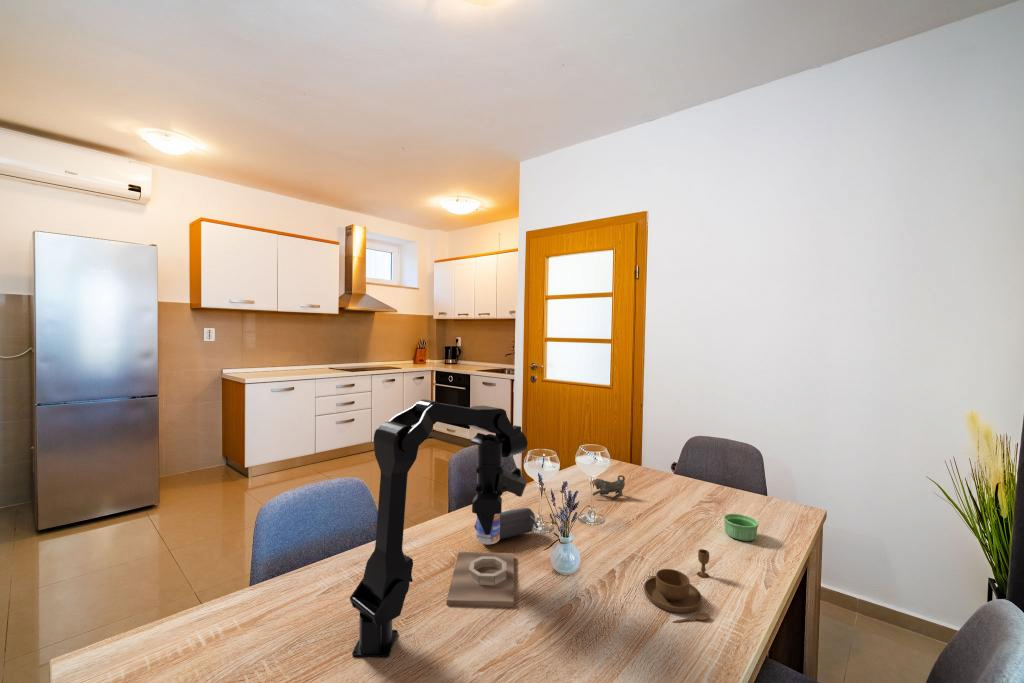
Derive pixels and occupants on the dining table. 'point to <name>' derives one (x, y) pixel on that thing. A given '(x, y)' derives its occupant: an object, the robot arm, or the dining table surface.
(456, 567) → the socket board
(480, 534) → the pill bottle
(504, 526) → the glasses case
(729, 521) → the ramekin
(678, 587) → the place setting
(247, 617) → the dining table surface
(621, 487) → the dog figurine
